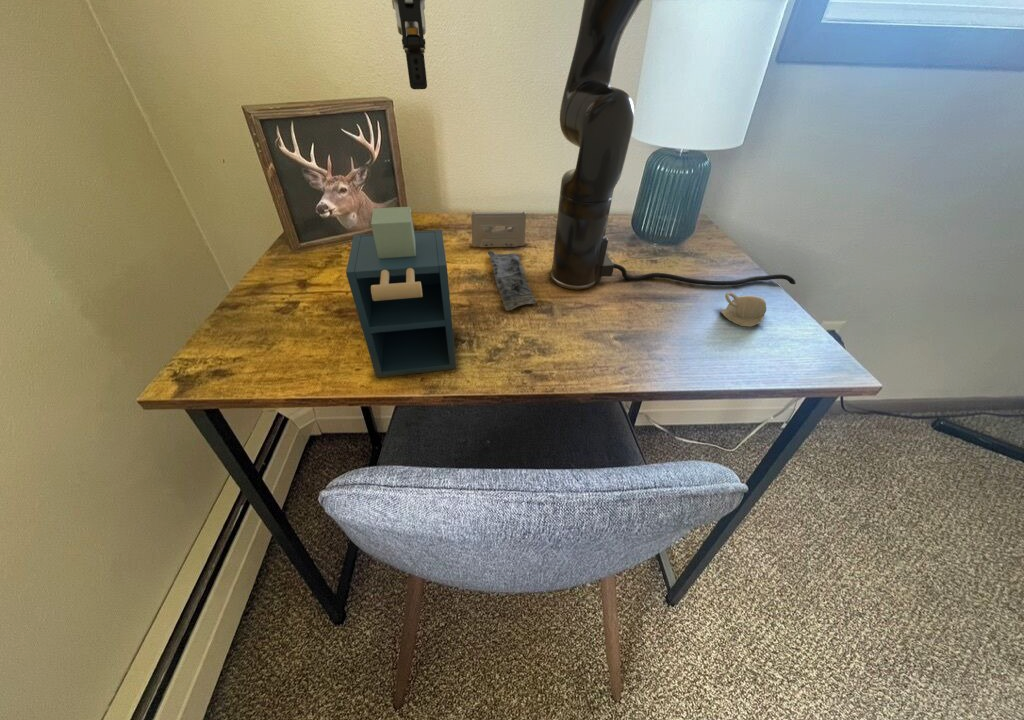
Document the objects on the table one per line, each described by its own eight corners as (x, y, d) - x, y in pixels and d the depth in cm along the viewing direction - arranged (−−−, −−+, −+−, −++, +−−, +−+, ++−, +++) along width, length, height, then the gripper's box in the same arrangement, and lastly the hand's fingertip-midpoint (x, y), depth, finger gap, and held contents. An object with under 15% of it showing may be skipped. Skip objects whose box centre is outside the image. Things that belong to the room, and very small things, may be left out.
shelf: (352, 231, 55) (339, 293, 44) (441, 226, 57) (449, 284, 46) (379, 335, 68) (374, 403, 57) (451, 329, 69) (459, 393, 59)
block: (415, 240, 55) (410, 206, 52) (415, 256, 51) (410, 221, 48) (380, 242, 54) (373, 208, 51) (378, 259, 51) (370, 223, 48)
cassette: (472, 247, 91) (470, 214, 86) (472, 244, 93) (470, 211, 87) (524, 247, 92) (526, 214, 87) (524, 243, 94) (525, 210, 88)
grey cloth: (537, 309, 74) (538, 299, 73) (501, 312, 74) (501, 302, 72) (518, 256, 90) (518, 247, 88) (487, 257, 89) (487, 248, 87)
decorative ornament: (764, 329, 72) (779, 304, 68) (715, 322, 73) (727, 297, 69) (759, 316, 75) (772, 291, 71) (712, 309, 76) (723, 285, 72)
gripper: (435, -99, 40) (449, 93, 51) (427, -84, 50) (441, 74, 62) (357, -104, 39) (389, 94, 50) (365, -87, 49) (390, 74, 60)
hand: (417, 83), depth 56 cm, fingers open, 8 cm apart
